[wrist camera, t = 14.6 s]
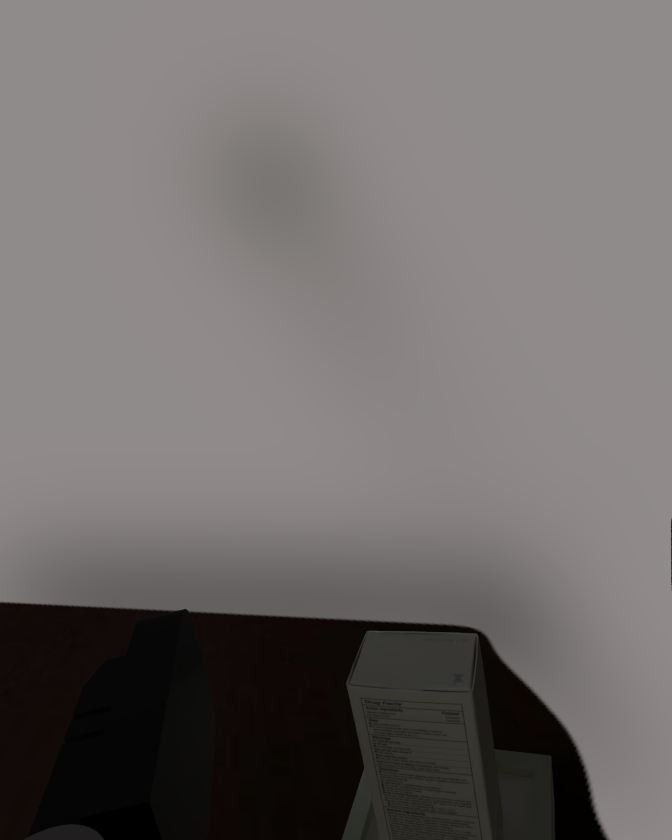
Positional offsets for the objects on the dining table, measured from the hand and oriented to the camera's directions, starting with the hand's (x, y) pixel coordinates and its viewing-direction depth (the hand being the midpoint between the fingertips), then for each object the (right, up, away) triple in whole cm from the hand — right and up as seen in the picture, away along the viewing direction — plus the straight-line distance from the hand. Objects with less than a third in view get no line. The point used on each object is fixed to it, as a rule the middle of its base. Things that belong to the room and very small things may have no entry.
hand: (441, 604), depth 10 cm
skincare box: (+4, -20, +25) cm, 32 cm away
